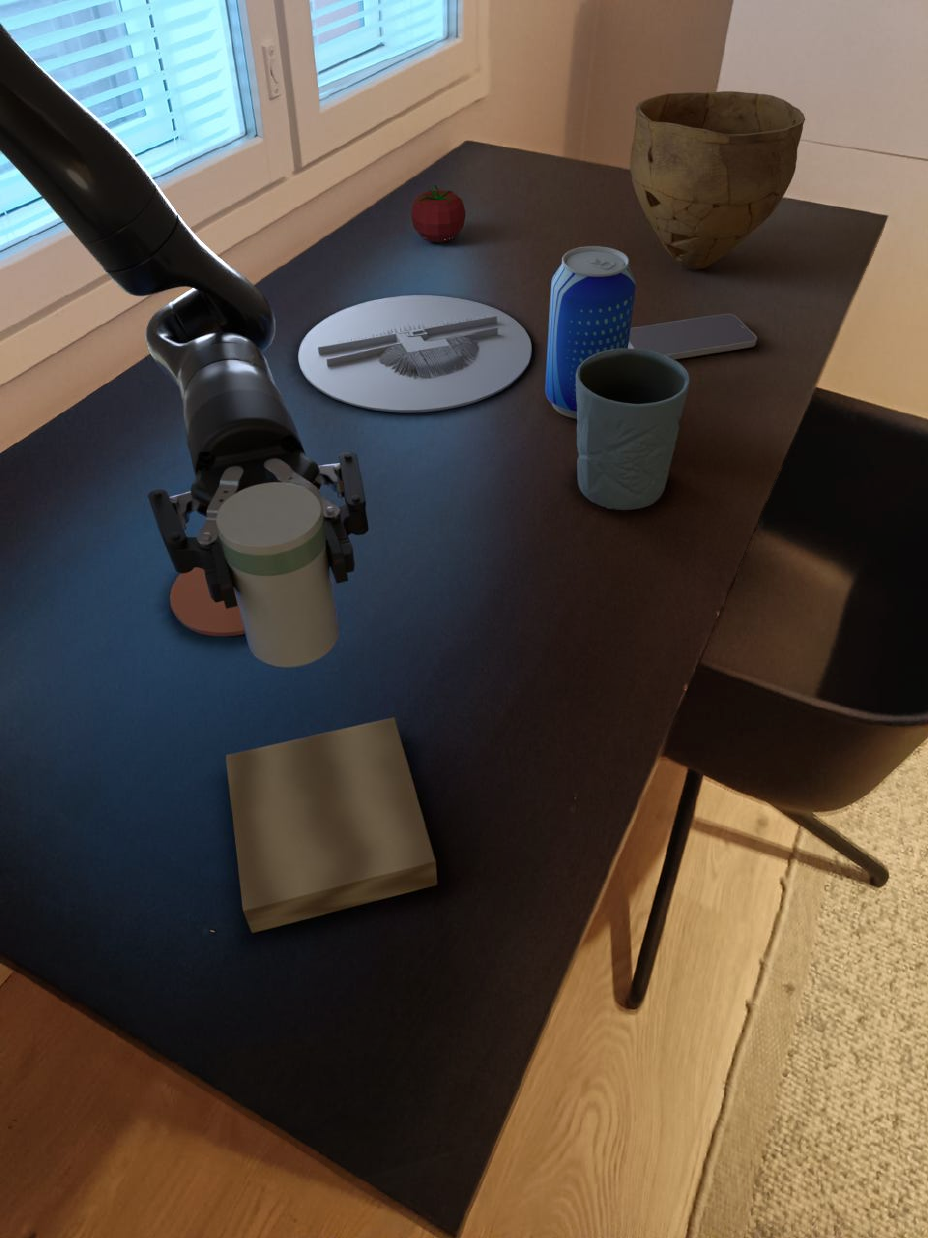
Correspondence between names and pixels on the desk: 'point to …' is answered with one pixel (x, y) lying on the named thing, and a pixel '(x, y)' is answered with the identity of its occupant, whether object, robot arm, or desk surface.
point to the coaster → (203, 607)
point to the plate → (415, 353)
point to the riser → (326, 824)
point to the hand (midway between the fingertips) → (286, 583)
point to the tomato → (438, 215)
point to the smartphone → (693, 336)
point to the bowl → (712, 167)
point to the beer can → (586, 317)
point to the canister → (280, 572)
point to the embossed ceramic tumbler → (627, 425)
